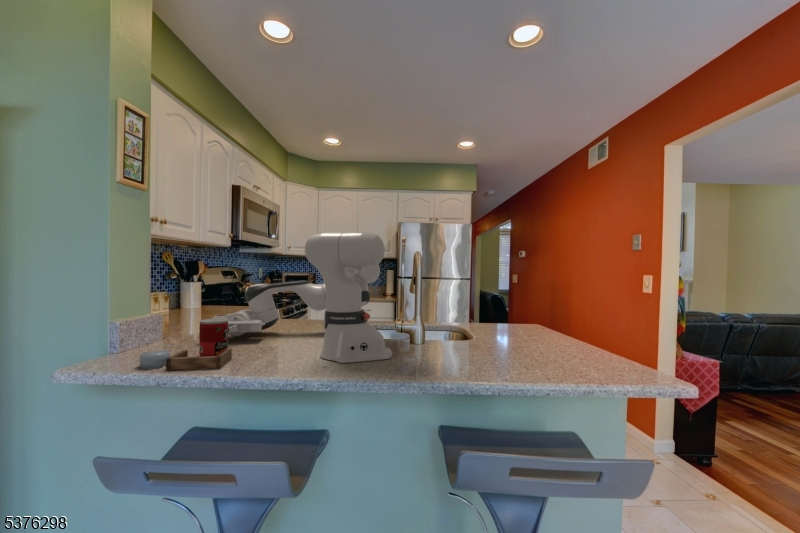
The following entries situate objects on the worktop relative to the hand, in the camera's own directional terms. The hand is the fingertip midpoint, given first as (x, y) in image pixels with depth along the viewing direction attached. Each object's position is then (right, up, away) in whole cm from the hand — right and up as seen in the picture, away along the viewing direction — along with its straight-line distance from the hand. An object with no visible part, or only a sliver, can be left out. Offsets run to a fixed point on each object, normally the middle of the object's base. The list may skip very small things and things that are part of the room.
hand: (226, 330), depth 120 cm
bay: (+4, -6, -21) cm, 22 cm away
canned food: (+2, -6, -12) cm, 14 cm away
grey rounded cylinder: (-8, -6, -24) cm, 26 cm away
